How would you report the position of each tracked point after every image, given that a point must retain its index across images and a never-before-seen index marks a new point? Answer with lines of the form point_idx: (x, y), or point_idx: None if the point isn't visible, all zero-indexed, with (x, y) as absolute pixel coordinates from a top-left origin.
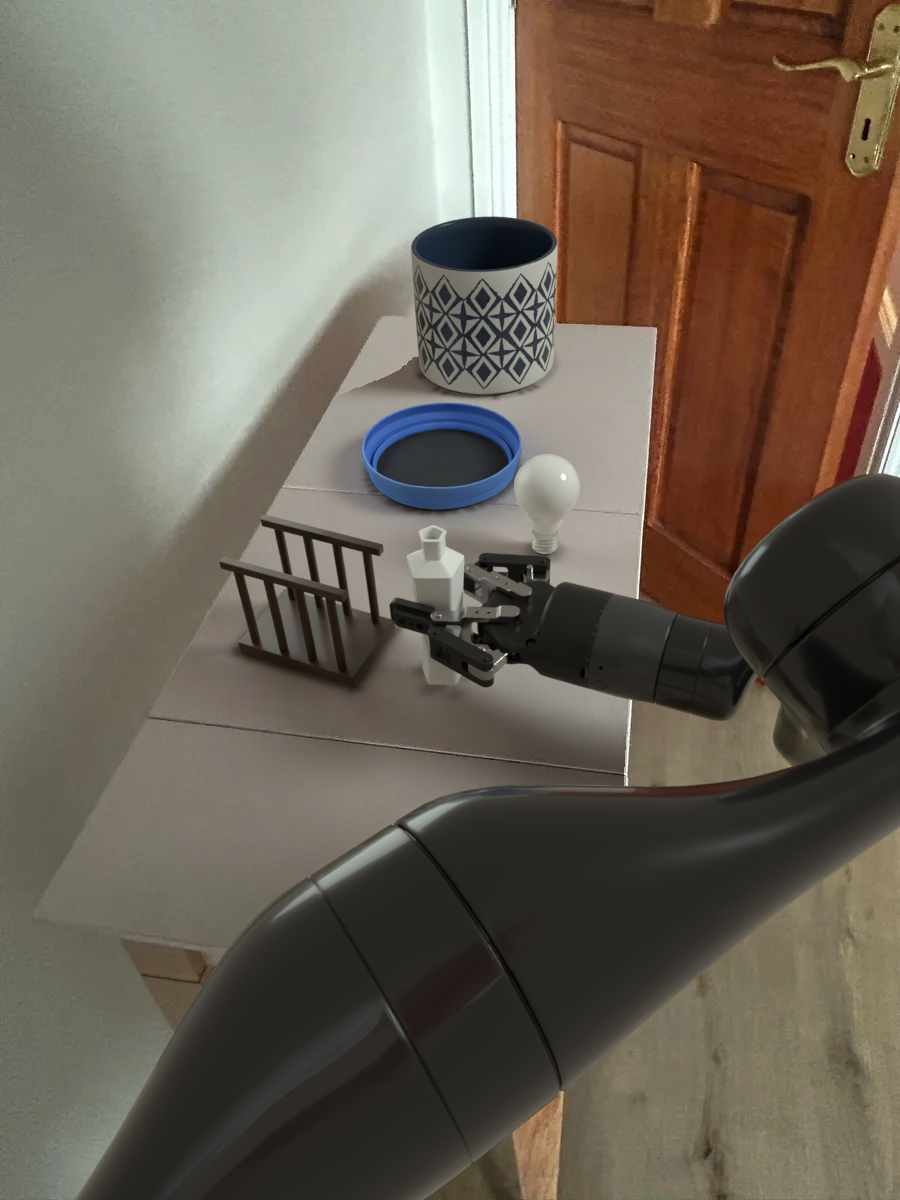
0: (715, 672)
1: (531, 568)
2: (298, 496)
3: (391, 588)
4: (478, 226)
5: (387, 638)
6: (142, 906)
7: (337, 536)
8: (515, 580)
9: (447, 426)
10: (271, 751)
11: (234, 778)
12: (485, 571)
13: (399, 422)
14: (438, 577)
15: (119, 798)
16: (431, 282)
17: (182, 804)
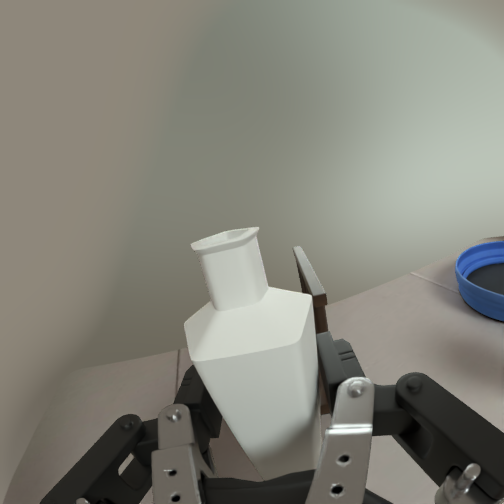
0: None
1: (470, 479)
2: (408, 278)
3: (391, 369)
4: None
5: (324, 412)
6: (60, 396)
7: (306, 271)
8: (436, 471)
9: None
10: (157, 409)
11: (132, 400)
12: (370, 417)
13: (498, 250)
14: (189, 344)
15: (122, 364)
16: None
17: (115, 387)
